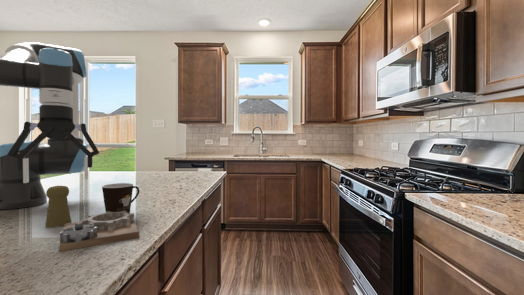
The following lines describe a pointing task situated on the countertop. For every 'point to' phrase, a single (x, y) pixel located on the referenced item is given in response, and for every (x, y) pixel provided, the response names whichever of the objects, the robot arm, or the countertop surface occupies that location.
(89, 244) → the gear board
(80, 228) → the gear
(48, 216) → the cork
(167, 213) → the countertop surface
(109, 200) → the coffee mug
